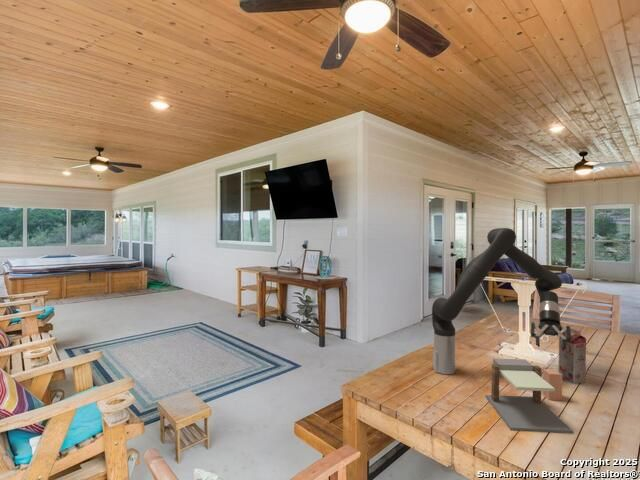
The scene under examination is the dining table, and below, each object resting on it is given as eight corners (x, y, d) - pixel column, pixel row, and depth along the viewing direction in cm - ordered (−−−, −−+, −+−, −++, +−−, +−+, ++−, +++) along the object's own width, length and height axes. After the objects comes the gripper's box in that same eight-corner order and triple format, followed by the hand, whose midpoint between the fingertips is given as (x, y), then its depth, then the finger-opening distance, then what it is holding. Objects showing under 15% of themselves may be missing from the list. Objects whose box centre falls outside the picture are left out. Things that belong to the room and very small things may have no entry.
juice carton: (573, 383, 144) (574, 332, 143) (558, 377, 150) (559, 327, 150) (585, 381, 146) (586, 330, 145) (570, 375, 152) (571, 326, 151)
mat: (510, 429, 112) (510, 427, 112) (485, 396, 134) (485, 394, 134) (573, 433, 110) (573, 430, 110) (537, 399, 132) (537, 396, 132)
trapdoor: (492, 371, 135) (493, 358, 135) (525, 372, 134) (525, 359, 134) (516, 395, 115) (516, 381, 115) (554, 397, 114) (554, 382, 114)
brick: (549, 399, 131) (549, 374, 131) (542, 394, 136) (543, 369, 135) (561, 400, 131) (562, 374, 130) (555, 394, 135) (555, 369, 135)
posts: (493, 403, 128) (494, 366, 128) (491, 400, 131) (491, 364, 130) (541, 405, 127) (541, 368, 126) (537, 402, 129) (538, 365, 129)
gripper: (530, 307, 153) (530, 340, 144) (569, 310, 146) (572, 346, 136) (530, 316, 158) (530, 349, 149) (568, 319, 150) (571, 354, 141)
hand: (550, 347), depth 142 cm, fingers open, 8 cm apart
